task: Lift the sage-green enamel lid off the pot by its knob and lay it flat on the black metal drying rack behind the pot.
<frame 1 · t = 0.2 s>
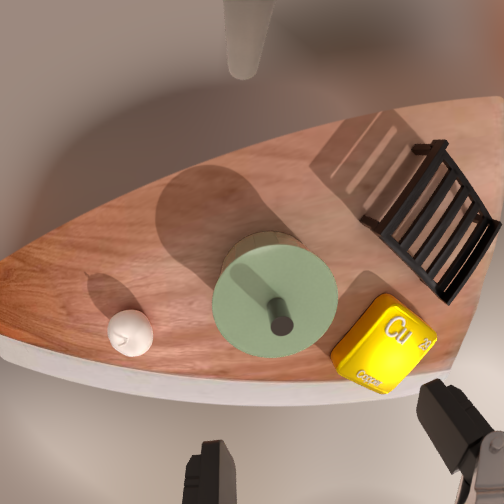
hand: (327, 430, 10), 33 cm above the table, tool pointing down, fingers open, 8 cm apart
rack: (422, 217, 41), on the table
element tile: (381, 340, 48), on the table
lid: (276, 304, 35), point 8 cm above the table, touching pot
pot: (268, 277, 43), on the table
apple: (137, 320, 44), on the table
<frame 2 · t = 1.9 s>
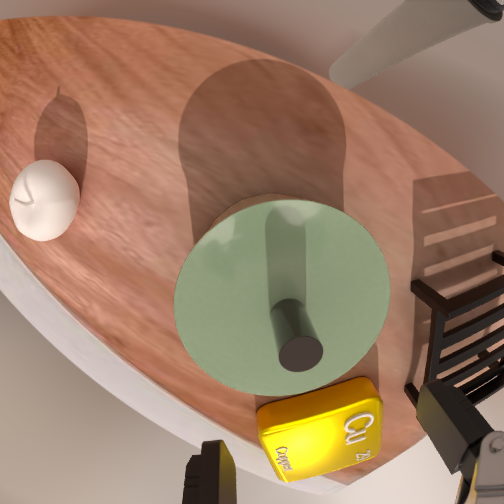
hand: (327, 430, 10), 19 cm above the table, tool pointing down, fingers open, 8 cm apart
rack: (455, 324, 31), on the table
element tile: (320, 424, 35), on the table
lid: (286, 311, 20), point 8 cm above the table, touching pot
pot: (272, 267, 28), on the table
apple: (64, 194, 25), on the table
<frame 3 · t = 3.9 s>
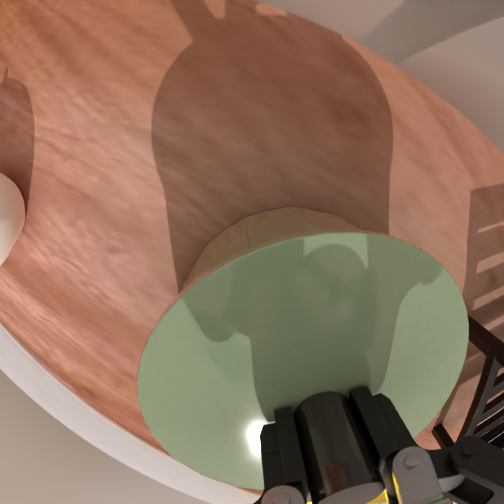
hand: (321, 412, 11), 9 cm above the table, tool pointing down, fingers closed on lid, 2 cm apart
rack: (494, 358, 23), on the table
lid: (319, 403, 11), point 9 cm above the table, touching gripper, pot
pot: (288, 311, 19), on the table
apple: (9, 208, 16), on the table
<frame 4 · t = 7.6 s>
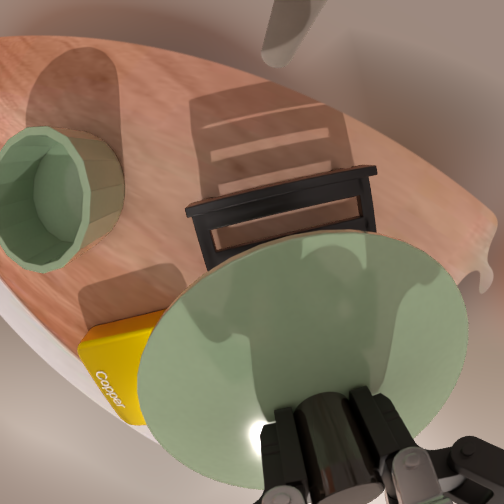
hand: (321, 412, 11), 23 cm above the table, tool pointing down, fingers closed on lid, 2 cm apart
rack: (290, 259, 33), on the table
element tile: (154, 363, 36), on the table
lid: (318, 403, 11), point 22 cm above the table, touching gripper
pot: (73, 190, 29), on the table
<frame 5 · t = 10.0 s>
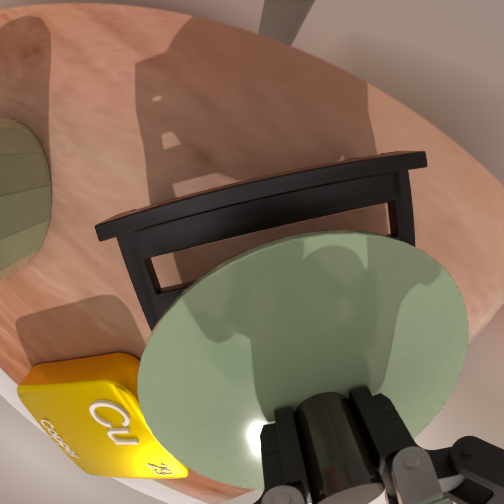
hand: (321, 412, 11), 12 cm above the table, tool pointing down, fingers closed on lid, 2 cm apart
rack: (281, 292, 22), on the table
element tile: (110, 411, 26), on the table
lid: (319, 403, 11), point 12 cm above the table, touching gripper
when the fingers open (7 cm above the table, at t = 11.5 s): lid stays where it is, resting on rack.
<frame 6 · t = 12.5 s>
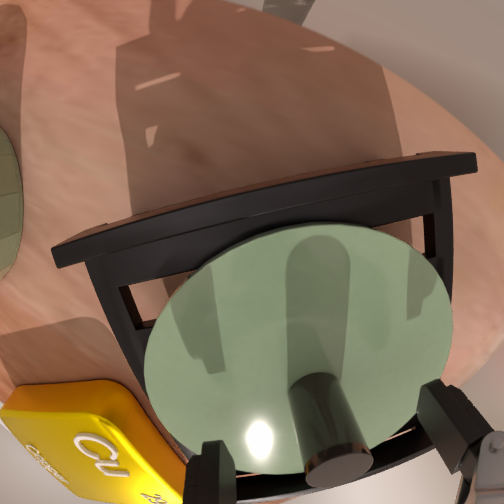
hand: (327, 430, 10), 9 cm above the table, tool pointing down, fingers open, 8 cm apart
rack: (288, 317, 19), on the table
element tile: (99, 436, 22), on the table
lid: (311, 384, 12), point 7 cm above the table, touching rack
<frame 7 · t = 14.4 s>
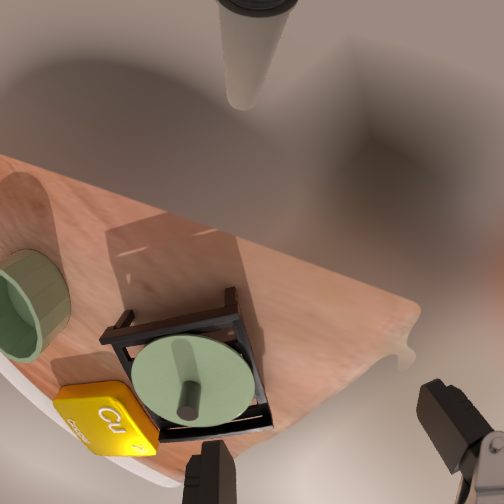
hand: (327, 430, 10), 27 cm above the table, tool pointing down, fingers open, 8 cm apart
rack: (197, 354, 39), on the table
element tile: (109, 413, 42), on the table
lid: (192, 385, 33), point 7 cm above the table, touching rack
pot: (35, 293, 35), on the table
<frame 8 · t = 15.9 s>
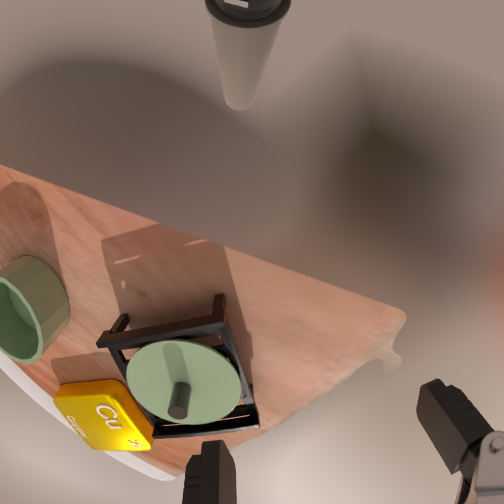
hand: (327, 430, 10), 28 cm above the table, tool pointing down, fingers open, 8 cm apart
rack: (188, 356, 41), on the table
element tile: (107, 410, 44), on the table
lid: (182, 385, 35), point 7 cm above the table, touching rack
pot: (35, 297, 37), on the table
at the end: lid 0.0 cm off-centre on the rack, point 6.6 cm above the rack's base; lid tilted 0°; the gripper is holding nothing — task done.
